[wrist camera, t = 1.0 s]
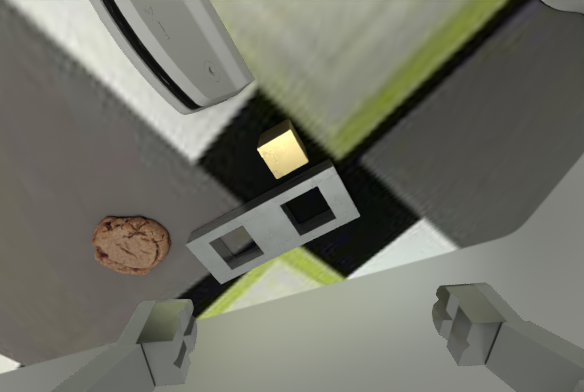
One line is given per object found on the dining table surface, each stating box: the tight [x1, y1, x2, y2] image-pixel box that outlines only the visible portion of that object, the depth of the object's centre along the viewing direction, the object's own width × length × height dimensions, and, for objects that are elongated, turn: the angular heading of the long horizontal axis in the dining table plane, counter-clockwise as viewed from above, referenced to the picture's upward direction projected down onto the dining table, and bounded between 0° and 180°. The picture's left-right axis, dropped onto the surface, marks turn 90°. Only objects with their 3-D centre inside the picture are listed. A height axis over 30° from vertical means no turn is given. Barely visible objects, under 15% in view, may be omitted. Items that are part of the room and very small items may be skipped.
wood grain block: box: [257, 118, 309, 179], centre depth 34 cm, size 4×4×6 cm
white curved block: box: [90, 0, 254, 115], centre depth 28 cm, size 17×5×10 cm, turn 29°
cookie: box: [92, 217, 171, 275], centre depth 42 cm, size 10×11×3 cm
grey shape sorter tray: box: [186, 158, 360, 284], centre depth 40 cm, size 22×8×3 cm, turn 120°
